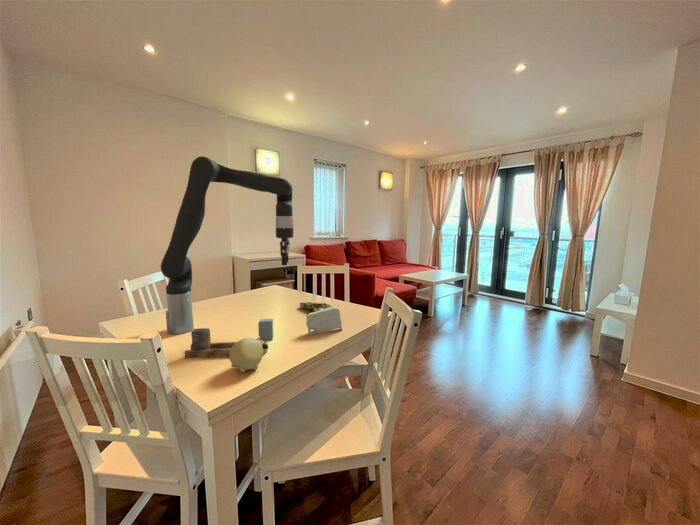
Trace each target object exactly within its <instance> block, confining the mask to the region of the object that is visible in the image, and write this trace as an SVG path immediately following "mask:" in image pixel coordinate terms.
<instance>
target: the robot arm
mask: <svg viewBox="0 0 700 525" xmlns="http://www.w3.org/2000/svg"><path fill="white" fill-rule="evenodd" d="M210 183H224V184H230V185H235V186H238V187H242V188H244V189H245V188H246V189H248V190H254V191H258V192H261V193H270V194H273V195H276V203H275V204H276V205H275V238H277V239H281V241H280V242H279V251H280V257H281V265H282V266H287V265H288V263H289V254H290V245H291V244H290V243H291V242H290V240H289V239H293V238H294V219H293V186H292V184H291V182H290V181H289V180H288V179H286V178H281V177H275V176H268V175H266V174H262V173H259V172H252V171H249V170H248V171H246V170H239V169H233V168H231V167H230V168H229V167H226V166H224V165H222V164H220V163H217V162H215V161H214V160H212V159H211V158H209V157H206V156H203V155H201V156H198V157H196V158H195V159H194V160H193V161H192V163H191V166H190V169H189V175H188V180H187V184H186V185H187V186H186V188H185V192H184V194H183V197H182V201H181V204H180V207H179V210H178V214H177V216H176V220H175V223H174V227H173V231H172V234H171V238H170V242H169V243H168V244H169V245H168V247H167V250H166V251H165V254H164V255H163V259H161V262H160V271H161V273H162V275H163V276H165V277H166V278H168V279H169V280H168V283H167V285H166V286H165V292H166V293H165V295H166V305H167V310H166V311H165V321H166V330H167V331H166V332H167V333H168V334H173V335H181V334H185V333H189V332H192V331H193V330H194V329H195V328H194V316H193V314H194V313H193V312H194V311H193V302H192V300H193V298H192V284H193V271H192V270H193V268H192V267H193V266H192V263H191V259H190V258H189V257H188V256H187V255H188V251H189V249H190V247H191V246H192V244H193V242H194V240H195V239H196V237H198V236H197V235H198V234H199V232H200V230H201V228H202V225H203V221H204V218H205V214H206V195H207V190H208V188H209V185H210Z"/></svg>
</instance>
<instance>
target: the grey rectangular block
mask: <svg viewBox="0 0 700 525" xmlns="http://www.w3.org/2000/svg"><path fill="white" fill-rule="evenodd" d="M257 326H258V327H257V329H258V337H259V340H262V341H273V340H274V319H273V318H264V319H263V318H261V319H259V321H258V325H257Z"/></svg>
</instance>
